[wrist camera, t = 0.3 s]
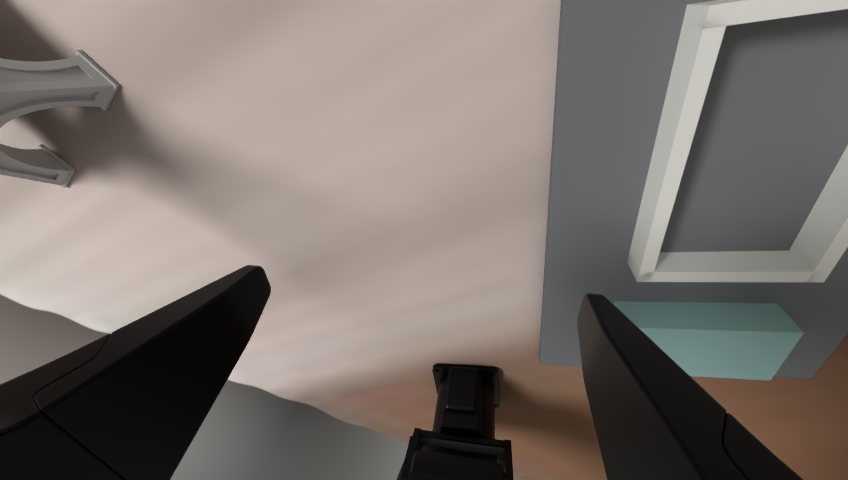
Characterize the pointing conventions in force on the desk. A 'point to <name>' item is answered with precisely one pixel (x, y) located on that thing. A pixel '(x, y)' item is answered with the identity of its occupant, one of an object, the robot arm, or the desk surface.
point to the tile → (718, 336)
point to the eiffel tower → (48, 107)
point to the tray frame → (692, 69)
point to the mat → (693, 163)
